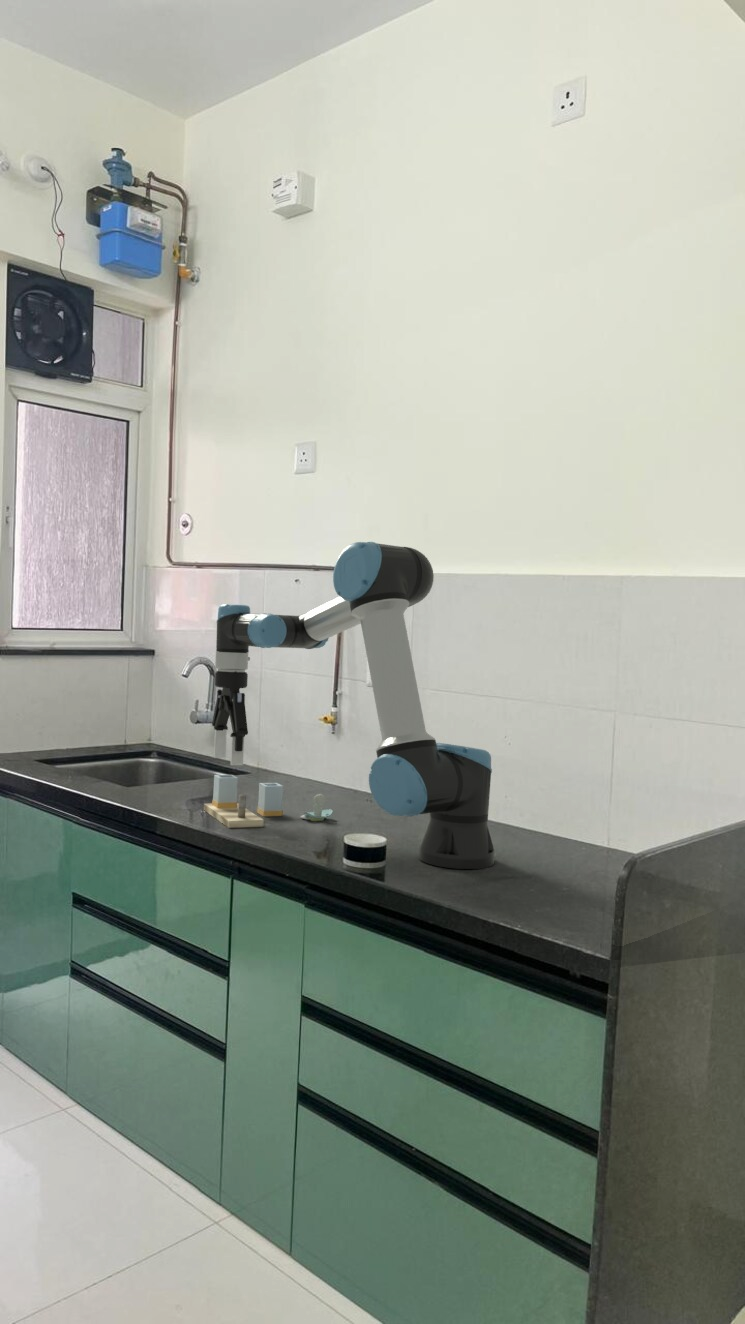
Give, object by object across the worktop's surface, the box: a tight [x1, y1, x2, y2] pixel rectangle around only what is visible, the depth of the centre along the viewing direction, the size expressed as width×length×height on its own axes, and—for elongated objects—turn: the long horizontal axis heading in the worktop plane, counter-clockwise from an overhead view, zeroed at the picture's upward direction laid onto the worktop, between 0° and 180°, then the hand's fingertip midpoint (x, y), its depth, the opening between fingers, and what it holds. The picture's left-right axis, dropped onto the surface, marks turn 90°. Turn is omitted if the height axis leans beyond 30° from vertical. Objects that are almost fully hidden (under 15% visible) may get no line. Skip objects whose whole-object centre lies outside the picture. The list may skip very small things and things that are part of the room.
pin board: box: [203, 793, 265, 829], centre depth 231 cm, size 20×8×6 cm, turn 25°
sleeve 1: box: [211, 774, 239, 808], centre depth 237 cm, size 5×5×7 cm
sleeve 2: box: [256, 782, 284, 817], centre depth 238 cm, size 5×5×7 cm
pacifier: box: [300, 793, 333, 822], centre depth 235 cm, size 7×6×6 cm
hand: (228, 761), depth 236 cm, fingers open, 13 cm apart
